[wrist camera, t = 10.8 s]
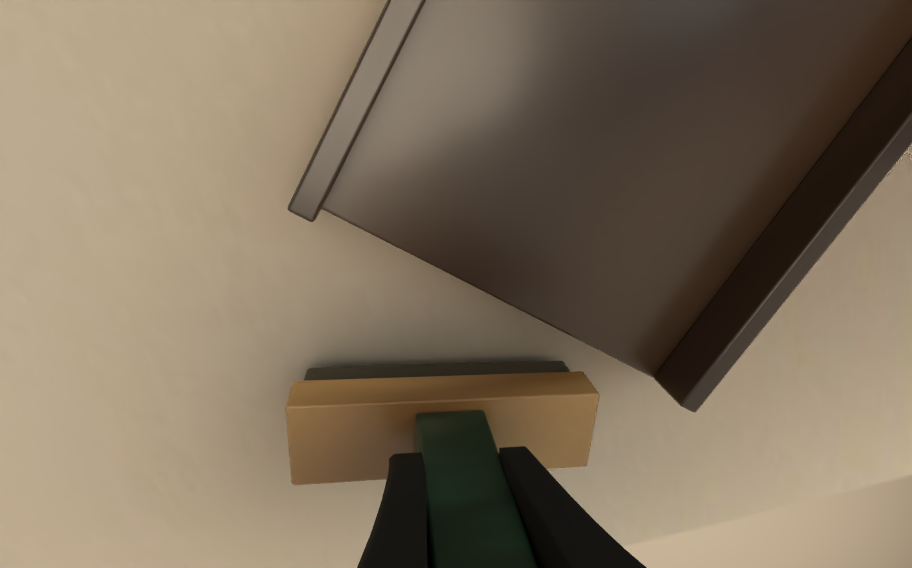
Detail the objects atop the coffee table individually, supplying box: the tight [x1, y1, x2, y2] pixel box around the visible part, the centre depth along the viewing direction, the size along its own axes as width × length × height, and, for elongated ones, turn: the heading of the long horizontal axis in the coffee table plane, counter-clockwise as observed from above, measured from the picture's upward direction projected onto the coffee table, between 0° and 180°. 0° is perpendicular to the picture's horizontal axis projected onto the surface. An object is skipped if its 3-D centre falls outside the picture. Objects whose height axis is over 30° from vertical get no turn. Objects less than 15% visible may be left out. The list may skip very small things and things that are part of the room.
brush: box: [286, 361, 599, 568], centre depth 11 cm, size 8×2×8 cm, turn 87°
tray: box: [288, 0, 912, 412], centre depth 11 cm, size 12×14×3 cm
